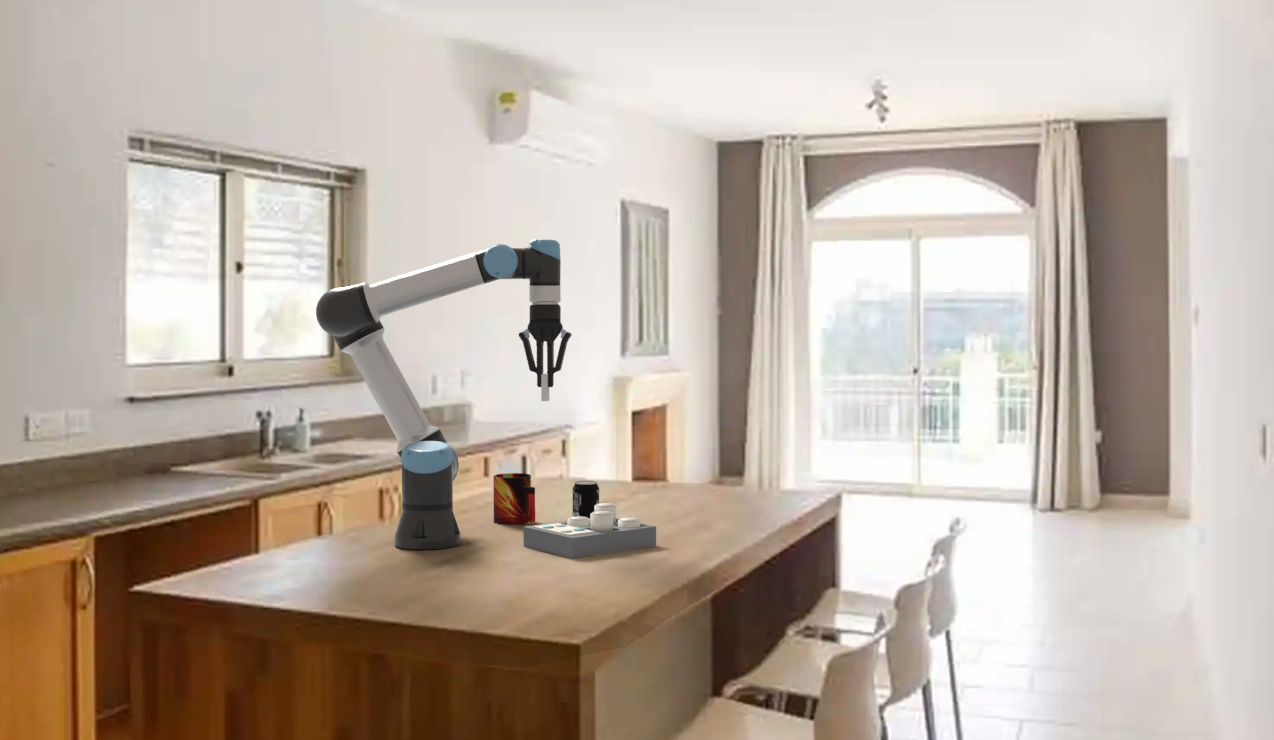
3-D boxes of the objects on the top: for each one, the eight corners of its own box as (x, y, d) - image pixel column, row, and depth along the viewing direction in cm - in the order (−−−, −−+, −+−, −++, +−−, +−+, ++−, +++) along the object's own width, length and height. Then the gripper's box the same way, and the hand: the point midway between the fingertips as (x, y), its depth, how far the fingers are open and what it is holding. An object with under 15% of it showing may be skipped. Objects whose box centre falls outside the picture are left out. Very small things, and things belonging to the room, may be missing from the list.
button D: (627, 544, 292) (627, 521, 292) (613, 541, 296) (613, 518, 296) (644, 542, 295) (644, 519, 295) (630, 539, 299) (630, 516, 299)
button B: (603, 529, 299) (603, 506, 299) (590, 526, 303) (589, 504, 303) (620, 526, 302) (620, 504, 302) (607, 524, 306) (607, 502, 306)
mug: (533, 527, 320) (533, 479, 319) (486, 523, 326) (486, 476, 325) (552, 521, 328) (552, 475, 328) (506, 517, 334) (505, 472, 334)
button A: (575, 543, 294) (575, 520, 294) (562, 540, 298) (562, 517, 298) (593, 540, 297) (593, 518, 297) (580, 537, 301) (580, 515, 301)
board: (572, 558, 279) (572, 535, 279) (523, 546, 294) (523, 524, 294) (656, 545, 294) (656, 524, 294) (605, 534, 309) (605, 514, 309)
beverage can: (595, 532, 311) (595, 484, 311) (569, 532, 313) (569, 483, 312) (601, 528, 318) (601, 480, 317) (576, 527, 319) (576, 479, 318)
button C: (599, 538, 287) (599, 515, 286) (585, 535, 291) (585, 512, 291) (617, 535, 290) (617, 512, 290) (603, 532, 294) (603, 510, 294)
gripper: (573, 303, 312) (574, 399, 313) (521, 303, 313) (521, 399, 314) (569, 303, 304) (569, 402, 305) (515, 303, 305) (516, 401, 307)
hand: (545, 400), depth 310 cm, fingers closed
